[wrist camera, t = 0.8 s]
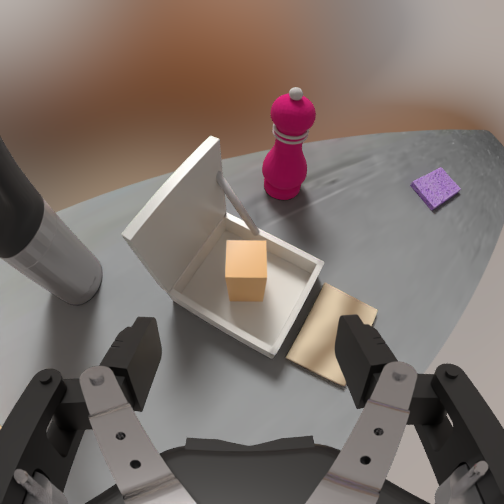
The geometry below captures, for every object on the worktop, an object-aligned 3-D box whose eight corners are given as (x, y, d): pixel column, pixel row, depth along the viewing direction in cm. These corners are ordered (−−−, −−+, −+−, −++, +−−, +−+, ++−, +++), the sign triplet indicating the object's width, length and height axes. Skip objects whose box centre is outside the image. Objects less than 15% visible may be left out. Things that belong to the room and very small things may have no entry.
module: (229, 301, 39) (225, 277, 31) (230, 270, 41) (226, 240, 33) (262, 301, 39) (267, 277, 31) (262, 271, 41) (266, 240, 33)
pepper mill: (304, 174, 51) (325, 80, 33) (300, 206, 48) (325, 108, 30) (264, 168, 51) (271, 72, 33) (257, 199, 48) (263, 98, 30)
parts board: (285, 357, 37) (286, 357, 36) (323, 284, 41) (325, 282, 41) (342, 386, 35) (344, 386, 34) (375, 312, 40) (377, 310, 39)
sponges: (408, 186, 51) (412, 181, 50) (438, 170, 54) (441, 165, 53) (430, 213, 49) (434, 207, 47) (457, 193, 52) (461, 188, 50)
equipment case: (169, 298, 40) (121, 234, 23) (221, 225, 46) (210, 135, 29) (271, 359, 37) (293, 335, 20) (317, 274, 42) (358, 200, 26)
